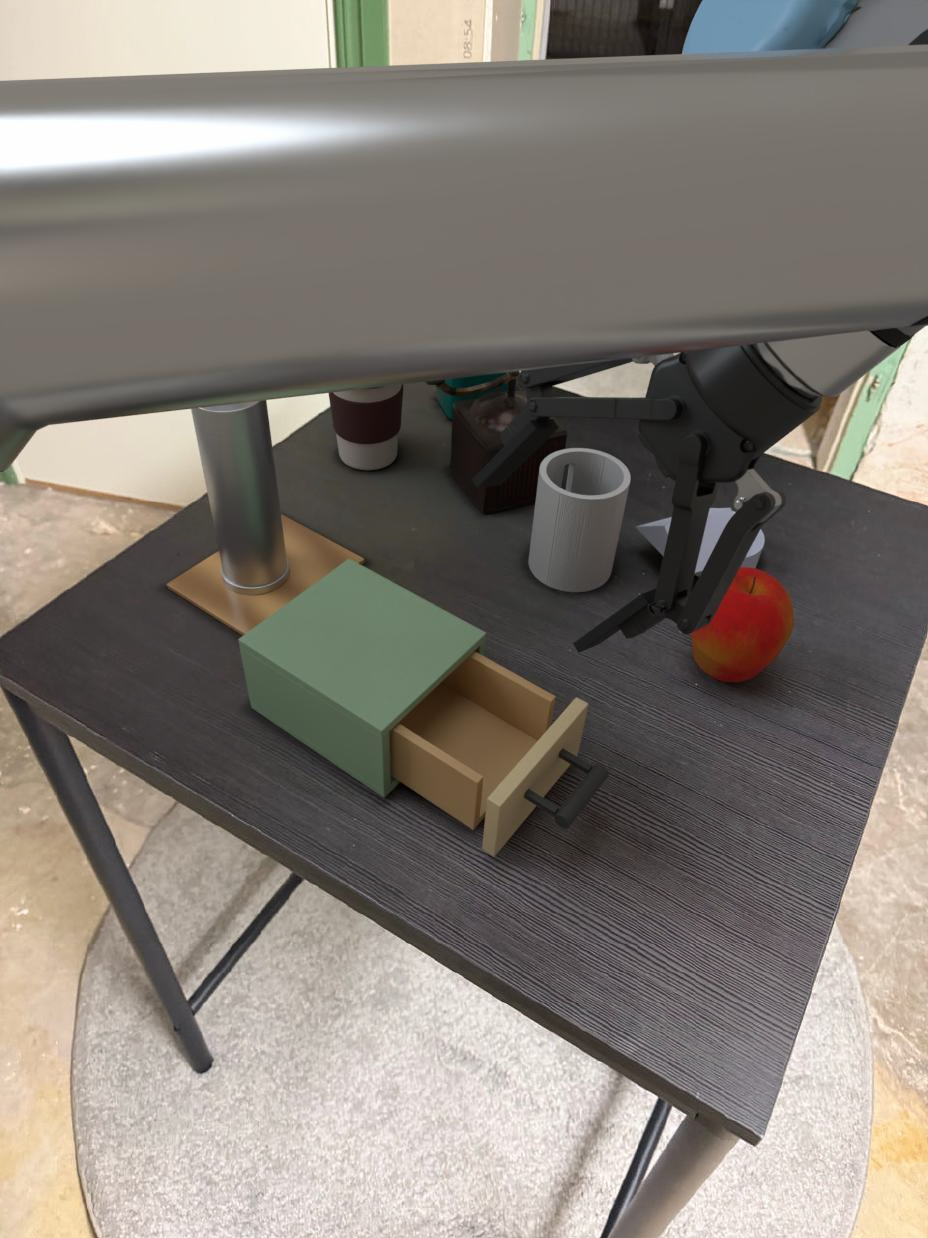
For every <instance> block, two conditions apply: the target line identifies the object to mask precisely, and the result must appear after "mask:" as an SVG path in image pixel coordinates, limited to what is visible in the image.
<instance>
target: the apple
mask: <svg viewBox="0 0 928 1238" xmlns="http://www.w3.org/2000/svg"><path fill="white" fill-rule="evenodd" d="M794 617H795V616H794V607H793V603H792V597H791V595H790V594H789V593H788V591H787V590H786V589H785V587H784V586H783V585H782V584H781V582H780V581H779V580H778V579H777V578H776V577H774V576H772V575H771V574H770V573H768V572H766V571H764V570H762V569H759V568H757V567H756V568H748V567H740V568H739V570H738V572H737V574H736V576H735V578H734V580H733V582H732V583H731V585H730V587H729V589H728V591H727V593H726V595H725V597H724V598H723V600H722V602H721V604H720V606H719V608H718V610H717V612H716V613H715V615H714V617H713V619H712V621H711V622H710V624H709V625H706V626H705V627H703V628H701V629H699V630H696V631H694V632H692V633H690V638H691V639H690V640H691V646H692V656H693V660H694V661H695V663H696V664H697V665H698V668H699V669H700V670H702V671H703V672H704V673H705V674H706V675H708V676H709V677H710V678H713V679H715V680H718V681H720V682H723V683H742V682H744V681H748V680H751V679H753V678H754V677H756V676H757V675H759V674H760V673H761V672H762V671H763V670H764V669H766V668H767V667H768V666H769V665H770V664H771V663H772V662H773V661H774V660H776V659H777V658H778V656H779V655H780V653H781V652H782V650H783V649H784V647H785V645H786V644H787V642H788V641H789V640H790V638H791V635H792V632H793V630H794V627H795V619H794Z"/></svg>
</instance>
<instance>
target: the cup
mask: <svg viewBox="0 0 928 1238" xmlns="http://www.w3.org/2000/svg"><path fill="white" fill-rule="evenodd" d="M567 465H568V471H567V478H566V484H565V489H564V488H562V486H563V480H564V474H565V466H567ZM631 481H632V477H631V472H630V470H629V468H628V467H627V465H625V464H624V463H623V462H622V461H621V460H620V459H618V458H617V457H615V456H613V455H611V454H609V453H607V452H604V451H601V450H598V449H593V448H586V447H569V448H565V449H563V450H559V451H556V452H554V453H552V454H550V455H548V456H547V457H546V458H545V459H544V460H543V461H542V463H541V465H540V469H539V477H538V485H537V494H536V502H535V503H534V510H533V520H532V528H531V535H530V543H529V552H528V553H529V554H528V560H527V562H528V563H527V564H528V567H529V571H530V572H531V574H532V575H533V576H534V577H535V578H536V579H537V580H538V581H539V582H540V583H542V584H544V586H547V587H549V588H551V589H554V590H557V591H560V592H565V593H567V592H568V593H585V592H590V591H593V590H596V589H598V588H601V587H602V586H603V585H604V584H606V582H608V581H609V579H610V578H611V575H612V571H613V566H614V562H615V557H616V553H617V548H618V542H619V538H620V533H621V529H622V523H623V519H624V514H625V511H626V510H625V509H626V503H627V500H628V495H629V490H630V485H631Z"/></svg>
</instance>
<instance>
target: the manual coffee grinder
mask: <svg viewBox="0 0 928 1238" xmlns="http://www.w3.org/2000/svg"><path fill="white" fill-rule="evenodd" d="M520 372H521V371H515V372H506V374H504V375H502V376H501V377H498V378H496V379H495V380H493V381H490V382H487V383H484V384H480V385H476V386H473V387H469V388H453V387H451V386H449V385H448V384H447V383H445V380H446V379H445V380H437V381H428V382H424V383H425V384H427V385H429V386H435V387H436V386H437V388H439V389H440V390H442V391H443V392H444V393H446V394H449V395H452V396H467V395H473V394H477V393H480V392H484V391H487V390H490V389H493V388H494V392H493V393H488V394H485V395H482V396H481V397H479V398H476V399H471V400H465V401H460V402H455V403H453V406H452V409H453V411H452V420H451V443H450V444H451V445H450V460H449V465H448V468H449V470H450V473H451V474H452V476H453V478H454V480H455V482H456V483H457V485H458V486H459V487H460V489H461V490H462V492H463V493H464V494H465V496H466V497H467V499H468V500H469V501H470V502H471V503H472V504H473V506H475V508H476V509H478V510H479V511H480V512H481V514H483V515H487V514H495V513H496V514H498V513H501V512H506V511H510V510H514V509H519V508H522V507H528V506H530V505H535V502H536V494H537V485H538V477H539V469H540V465H541V463H542V461H543V460H544V459H545V458H546V457H547V456H548V455H550V454H552V453H554V452H556V451H559V450H563V449H566V447H567V438H568V430H567V429H566V427H565V426H564V425H563V424H562V423H561V422H560V421H559V420H558V418H557V417H550V418H549V419H554V421H555V422H556V424H557V426H558V427H559V428H558V429H557V430H556V431H555V432H554V433H553V434H552V435H551V436H550V437H549V438H548V439H547V440H546V441H545V442H544V443H543V444H542V445H541V446H540V447H539V448H538V449H537V450H536V451H535V452H534V453H533V454H532V455H531V456H530V457H529V458H528V459H527V460H525V461H524V462H523V463H522V464H521V465H520V466H519V467H518V468H517V469H516V470H515V471H514V472H513V473H512V474H511V475H510V476H509V477H508V478H507V479H506V480H505V481H504V482H503V483H502V484H501V485H496V486H490V487H483V488H477V487H476V486H475V484H474V482H473V481H472V479H473V478H474V477H475V476H476V475H477V474H478V473H479V472H480V471H481V470H482V469H483V468H484V467H485V466H486V465H487V464H488V463H489V462H490V461H491V460H492V459H493V458H494V457H495V455H496V454H497V453H498V452H499V451H500V450H501V449H502V448H503V447H504V445H503V443H502V441H501V440H500V436H501V433H502V431H503V430H504V429H505V428H506V427H507V426H508V425H509V424H510V423H511V422H512V421H513V420H514V419H515V418H516V417H517V416H518V414H519V413H520V412H521V411H522V410H523V409H524V408H525V406H526V403H527V395H526V391H525V389H521V390H517V389H516V388H517V381H518V376H519V373H520ZM507 382H508V390H507V392H501V387H500V386H501V385H503V384H505V383H507Z"/></svg>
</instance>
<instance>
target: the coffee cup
mask: <svg viewBox="0 0 928 1238" xmlns="http://www.w3.org/2000/svg"><path fill="white" fill-rule="evenodd" d="M328 399H329V406H330V413H331V419H332V426H333V430H334V432H335V434H336V442H337V448H338V449H337V450H338V455H339V458H340V460H341V461H342V462H343V463H344V464H345V465H346V466H348V467H350V468H353V469H355V470H359V471H376V470H381V469H384V468H386V467H389V466H390V465H391V464H392V463H393V462H395V460H396V458H397V455H398V449H399V447H398V446H399V432H400V430H401V428H402V427H401V426H402V415H403V414H402V413H403V399H404V384H402V385H393V386H385V387H376V388H367V389H359V390H350V391H341V392H332V393H328Z"/></svg>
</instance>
